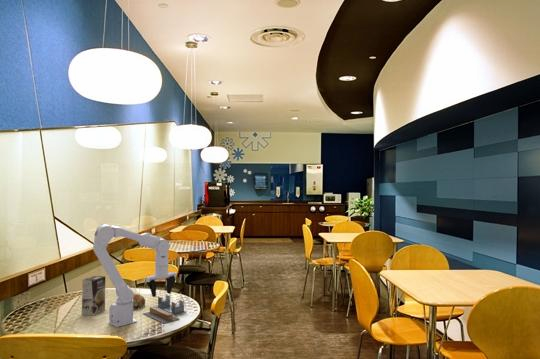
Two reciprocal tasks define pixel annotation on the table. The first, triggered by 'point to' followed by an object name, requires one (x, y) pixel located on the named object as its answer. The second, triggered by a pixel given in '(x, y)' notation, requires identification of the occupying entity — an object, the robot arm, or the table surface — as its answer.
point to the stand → (172, 308)
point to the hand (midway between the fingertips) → (161, 294)
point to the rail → (161, 313)
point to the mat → (160, 318)
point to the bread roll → (138, 301)
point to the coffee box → (93, 295)
